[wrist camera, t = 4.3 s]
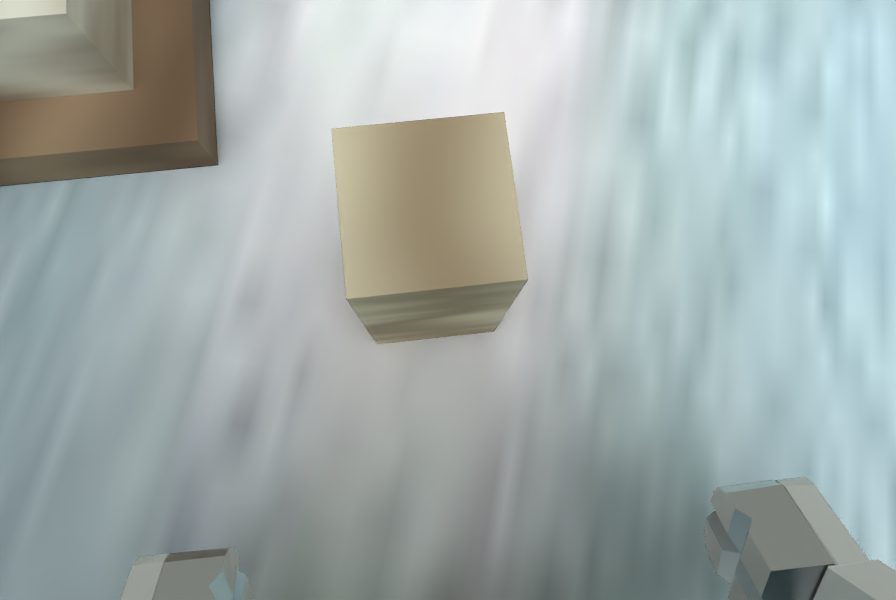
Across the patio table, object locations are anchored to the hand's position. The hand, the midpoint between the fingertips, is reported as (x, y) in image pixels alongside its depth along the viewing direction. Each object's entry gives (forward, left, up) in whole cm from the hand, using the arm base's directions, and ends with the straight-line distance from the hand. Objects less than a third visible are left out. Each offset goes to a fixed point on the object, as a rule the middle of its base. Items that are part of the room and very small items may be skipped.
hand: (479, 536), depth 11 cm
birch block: (0, +7, -10) cm, 12 cm away
